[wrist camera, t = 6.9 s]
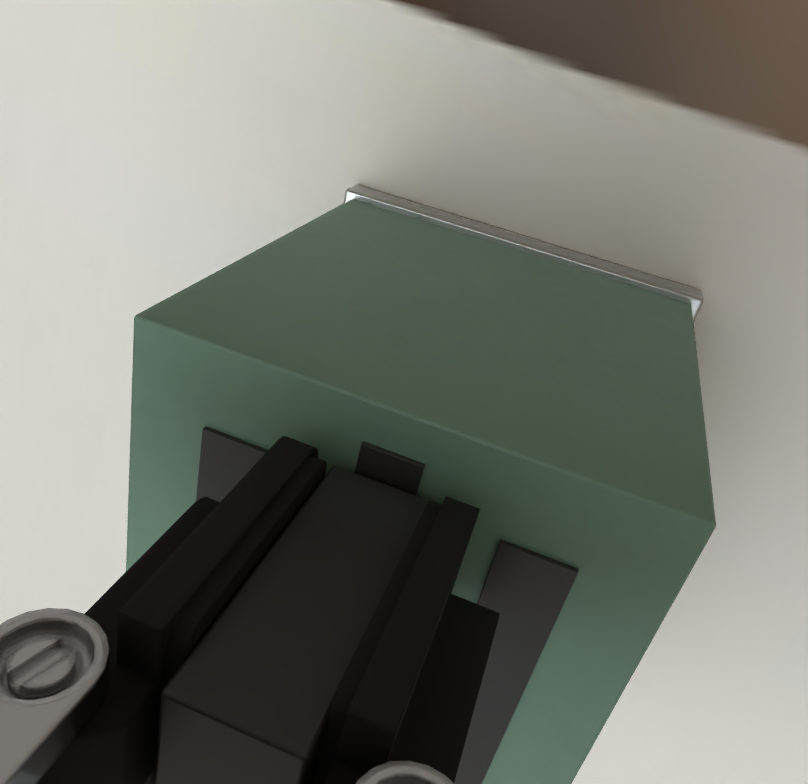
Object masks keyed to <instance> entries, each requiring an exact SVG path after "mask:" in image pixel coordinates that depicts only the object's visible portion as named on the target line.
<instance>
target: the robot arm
mask: <svg viewBox="0 0 808 784" xmlns="http://www.w3.org/2000/svg"><path fill="white" fill-rule="evenodd" d="M326 468H327V462H326V461H324V460H321V459H319V458H318V449H317V448H316V447H314V446H311V445H308V444H306V443H303V442H300V441H298V440H295V439H292V438H290V437H287V436H282V437H281V438H280V439H278V441H277V442H276V443H275V444H274V445H273V446H272V447H271V448H270V449H269V450H268V451H267V452H266V453H265V454H264V456H263V457H262V458H261V459H260V460H259V461H258V462H257V463H256V464H255V465H254V466H253V467H252V468H251V469H250V471H249V472H248V473H247V474H246V475H245V476H244V477H243V478H242V479H241V480H240V481H239V482H238V483H237V484H236V486H235V487H234V488H233V489H232V490H231V491H230V492H229V493H228V494H227V495H226V496H225V497H224V498H223V500H222V501H221V502H219V501H216V500H214V499H211V498H209V497H203V498H200V499H199V500H197V501H196V502H195V503H194V504H193V505H192V506H191V507H190V508H189V509H188V510H187V511H186V512H185V513H184V514H183V515H182V516H181V517H180V518H179V519H178V520H177V521H176V522H175V523H174V524H173V525H172V526H171V527H170V528H169V529H168V530H167V531H166V532H165V533H164V534H163V535H162V536H161V537H160V538H159V539H158V540H157V541H156V542H155V543H154V544H153V545H152V546H151V547H150V548H149V549H148V550H147V551H146V552H145V553H144V554H143V555H142V556H141V557H140V558H139V559H138V560H137V561H136V562H135V563H134V564H133V565H132V566H131V567H130V568H129V569H128V570H127V572H126V573H125V574H124V575H123V576H122V577H121V578H120V579H119V580H118V581H117V582H116V583H115V584H114V585H113V586H112V587H111V588H110V589H109V590H108V591H107V592H106V593H105V594H104V595H103V596H102V597H101V598H100V599H99V600H98V601H97V602H96V603H95V604H94V605H93V606H92V607H91V608H90V609H89V610H88V611H87V612H86V613H85V614H83V613H79V612H76V611H72V610H69V609H53V608H47V609H41V610H36V611H30V612H26V613H24V614H21V615H19V616H16V617H14V618H11V619H9V620H7V621H5V622H4V623H2V624H1V625H0V784H155V771H156V757H157V744H158V730H159V716H160V703H161V693H162V690H163V689H164V688H165V686H166V685H167V684H168V682H169V681H170V680H171V678H172V677H173V676H174V674H175V673H176V672H177V670H178V669H179V668H180V666H181V665H182V664H183V663H184V661H185V660H186V659H187V657H188V656H189V655H190V653H191V652H192V651H193V649H194V648H195V647H196V645H197V644H198V643H199V641H200V640H201V639H202V637H203V636H204V635H205V634H206V632H207V631H208V630H209V628H210V627H211V626H212V624H213V623H214V622H215V620H216V619H217V618H218V616H219V615H220V614H221V612H222V611H223V610H224V609H225V607H226V606H227V605H228V603H229V602H230V601H231V599H232V598H233V597H234V595H235V594H236V593H237V591H238V590H239V589H240V587H241V586H242V585H243V583H244V582H245V581H246V580H247V578H248V577H249V576H250V574H251V573H252V572H253V570H254V569H255V568H256V566H257V565H258V564H259V562H260V561H261V560H262V558H263V557H264V556H265V555H266V553H267V552H268V551H269V549H270V548H271V547H272V545H273V544H274V543H275V541H276V540H277V539H278V537H279V536H280V535H281V533H282V532H283V531H284V529H285V528H286V527H287V526H288V524H289V523H290V522H291V520H292V519H293V518H294V516H295V515H296V514H297V512H298V511H299V510H300V508H301V507H302V506H303V504H304V503H305V502H306V501H307V499H308V498H309V497H310V495H311V494H312V493H313V491H314V490H315V489H316V487H317V486H318V485H319V483H320V482H321V481H322V479H323V478H324V477H325V474H326ZM479 511H480V508H477V507H474V506H472V505H469V504H466V503H464V502H461V501H458V500H456V499H453V498H450V497H448V496H446V497H445V499H444V501H443V504H442V505H441V504H439V503H436V502H433V501H431V500H430V501H429V502H428V504H427V506H426V508H425V510H424V512H423V514H422V516H421V518H420V520H419V522H418V524H417V526H416V528H415V530H414V532H413V534H412V536H411V538H410V540H409V542H408V545H407V547H406V549H405V551H404V553H403V555H402V557H401V559H400V561H399V563H398V565H397V567H396V569H395V571H394V573H393V575H392V577H391V579H390V581H389V583H388V585H387V587H386V589H385V591H384V593H383V595H382V598H381V600H380V602H379V604H378V606H377V608H376V610H375V612H374V614H373V616H372V618H371V620H370V622H369V624H368V626H367V628H366V630H365V632H364V634H363V636H362V638H361V640H360V642H359V644H358V646H357V648H356V651H355V653H354V655H353V657H352V659H351V661H350V663H349V665H348V667H347V669H346V671H345V673H344V675H343V677H342V679H341V681H340V684H339V686H338V688H337V690H336V693H335V695H334V698H333V700H332V703H331V706H330V709H329V712H328V715H327V718H326V722H327V723H326V727H325V731H324V735H323V739H322V743H321V747H320V751H319V754H318V758H317V762H316V766H315V770H314V774H313V778H312V782H311V784H454V781H455V778H456V774H457V770H458V767H459V763H460V759H461V756H462V752H463V748H464V745H465V741H466V737H467V734H468V730H469V726H470V723H471V719H472V715H473V712H474V708H475V704H476V701H477V697H478V693H479V690H480V686H481V682H482V679H483V675H484V671H485V668H486V664H487V660H488V657H489V653H490V649H491V646H492V642H493V638H494V635H495V631H496V627H497V623H498V619H499V614H500V613H498V612H496V611H493V610H491V609H488V608H486V607H483V606H481V605H478V604H476V603H473V602H471V601H468V600H466V599H463V598H461V597H458V596H456V595H453V594H451V593H452V590H453V587H454V584H455V581H456V578H457V576H458V573H459V570H460V567H461V564H462V561H463V558H464V555H465V552H466V549H467V546H468V544H469V541H470V538H471V535H472V532H473V529H474V526H475V523H476V520H477V517H478V514H479Z"/></svg>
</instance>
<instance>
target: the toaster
mask: <svg viewBox="0 0 808 784" xmlns="http://www.w3.org/2000/svg"><path fill="white" fill-rule="evenodd" d="M702 303H703V297H702V291H701V290H698V289H695V288H692V287H689V286H685V285H682V284H679V283H676V282H672V281H669V280H666V279H663V278H659V277H656V276H653V275H650V274H646V273H643V272H640V271H637V270H633V269H630V268H627V267H624V266H620V265H617V264H614V263H611V262H607V261H604V260H601V259H598V258H594V257H591V256H588V255H585V254H581V253H578V252H575V251H572V250H568V249H565V248H562V247H559V246H555V245H552V244H549V243H546V242H542V241H539V240H536V239H533V238H529V237H526V236H523V235H520V234H516V233H513V232H510V231H507V230H503V229H500V228H497V227H494V226H490V225H487V224H484V223H481V222H477V221H474V220H471V219H468V218H464V217H461V216H458V215H455V214H451V213H448V212H445V211H442V210H438V209H435V208H432V207H429V206H425V205H422V204H419V203H416V202H412V201H409V200H406V199H403V198H399V197H396V196H393V195H390V194H386V193H383V192H380V191H377V190H373V189H370V188H367V187H364V186H360V185H355V186H353V187H351V188H349V189H347V190H346V193H345V198H344V204H342V205H340V206H338V207H337V208H335V209H333V210H331V211H329V212H327V213H325V214H324V215H322V216H320V217H318V218H316V219H314V220H312V221H310V222H309V223H307V224H305V225H303V226H301V227H299V228H297V229H296V230H294V231H292V232H290V233H288V234H286V235H284V236H283V237H281V238H279V239H277V240H275V241H273V242H271V243H269V244H268V245H266V246H264V247H262V248H260V249H258V250H256V251H255V252H253V253H251V254H249V255H247V256H245V257H243V258H242V259H240V260H238V261H236V262H234V263H232V264H230V265H228V266H227V267H225V268H223V269H221V270H219V271H217V272H215V273H214V274H212V275H210V276H208V277H206V278H204V279H202V280H201V281H199V282H197V283H195V284H193V285H191V286H189V287H188V288H186V289H184V290H182V291H180V292H178V293H176V294H174V295H173V296H171V297H169V298H167V299H165V300H163V301H161V302H160V303H158V304H156V305H154V306H152V307H150V308H148V309H147V310H145V311H143V312H141V313H139V314H137V315H136V316H135V318H134V343H133V374H132V405H131V436H130V468H129V499H128V530H127V562H126V572H127V570H128V569H129V568H130V567H131V566H132V565H133V564H134V563H135V562H136V561H137V560H138V559H139V558H140V557H141V556H142V555H143V554H144V553H145V552H146V551H147V550H148V549H149V548H150V547H151V546H152V545H153V544H154V543H155V542H156V541H157V540H158V539H159V538H160V537H161V536H162V535H163V534H164V533H165V532H166V531H167V530H168V529H169V528H170V527H171V526H172V525H173V524H174V523H175V522H176V521H177V520H178V519H179V518H180V517H181V516H182V515H183V514H184V513H185V512H186V511H187V510H188V509H189V508H190V507H191V506H192V505H193V504H194V503H195V502H196V501H197V500H199V499H200V498H203V497H209V498H211V499H214V500H216V501H219V502H221V501H222V500H223V498H224V497H225V496H226V495H227V494H228V493H229V492H230V491H231V490H232V489H233V488H234V487H235V486H236V484H237V483H238V482H239V481H240V480H241V479H242V478H243V477H244V476H245V475H246V474H247V473H248V472H249V471H250V469H251V468H252V467H253V466H254V465H255V464H256V463H257V462H258V461H259V460H260V459H261V458H262V457H263V456H264V454H265V453H266V452H267V451H268V450H269V449H270V448H271V447H272V446H273V445H274V444H275V443H276V442H277V441H278V439H280V438H281V437H282V436H287V437H290V438H292V439H295V440H298V441H300V442H303V443H306V444H308V445H311V446H314V447H316V448H317V449H318V458H319V459H321V460H324V461H326V462H327V468H326V474H327V473H328V472H329V470H330V469H331V468H332V466H338V467H341V468H343V469H346V470H349V471H351V472H354V473H357V474H359V475H362V476H364V477H367V478H370V479H372V480H375V481H378V482H380V483H383V484H386V485H388V486H391V487H393V488H396V489H399V490H401V491H404V492H407V493H409V494H412V495H414V496H417V497H420V498H422V499H425V500H428V501H430V500H431V501H433V502H436V503H439V504H441V505H442V504H443V501H444V499H445V497H446V496H448V497H450V498H453V499H456V500H458V501H461V502H464V503H466V504H469V505H472V506H474V507H477V508H480V511H479V514H478V517H477V520H476V523H475V526H474V529H473V532H472V535H471V538H470V541H469V544H468V546H467V549H466V552H465V555H464V558H463V561H462V564H461V567H460V570H459V573H458V576H457V578H456V581H455V584H454V587H453V590H452V593H451V594H453V595H456V596H458V597H461V598H463V599H466V600H468V601H471V602H473V603H476V604H478V605H481V606H483V607H486V608H488V609H491V610H493V611H496V612H498V613H500V614H499V619H498V623H497V627H496V631H495V635H494V638H493V642H492V646H491V649H490V653H489V657H488V660H487V664H486V668H485V671H484V675H483V679H482V682H481V686H480V690H479V693H478V697H477V701H476V704H475V708H474V712H473V715H472V719H471V723H470V726H469V730H468V734H467V737H466V741H465V745H464V748H463V752H462V756H461V759H460V763H459V767H458V770H457V774H456V778H455V781H454V784H571V783H572V781H573V780H574V778H575V776H576V774H577V772H578V771H579V769H580V767H581V765H582V764H583V762H584V760H585V758H586V756H587V755H588V753H589V751H590V749H591V748H592V746H593V744H594V742H595V740H596V739H597V737H598V735H599V733H600V732H601V730H602V728H603V726H604V724H605V723H606V721H607V719H608V717H609V716H610V714H611V712H612V710H613V708H614V707H615V705H616V703H617V701H618V700H619V698H620V696H621V694H622V692H623V691H624V689H625V687H626V685H627V684H628V682H629V680H630V678H631V676H632V675H633V673H634V671H635V669H636V668H637V666H638V664H639V662H640V660H641V659H642V657H643V655H644V653H645V652H646V650H647V648H648V646H649V644H650V643H651V641H652V639H653V637H654V636H655V634H656V632H657V630H658V628H659V627H660V625H661V623H662V621H663V619H664V618H665V616H666V614H667V612H668V611H669V609H670V607H671V605H672V603H673V602H674V600H675V598H676V596H677V595H678V593H679V591H680V589H681V587H682V586H683V584H684V582H685V580H686V579H687V577H688V575H689V573H690V571H691V570H692V568H693V566H694V564H695V563H696V561H697V559H698V557H699V555H700V554H701V552H702V550H703V548H704V547H705V545H706V543H707V541H708V539H709V538H710V536H711V534H712V532H713V531H714V529H715V527H716V522H715V513H714V504H713V495H712V486H711V477H710V468H709V459H708V450H707V441H706V432H705V423H704V414H703V405H702V396H701V387H700V378H699V369H698V360H697V351H696V341H695V332H694V323H693V322H694V320H695V318H696V316H697V314H698V311H699V309H700V307H701V305H702ZM326 474H325V475H326Z"/></svg>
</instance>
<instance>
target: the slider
mask: <svg viewBox="0 0 808 784" xmlns="http://www.w3.org/2000/svg"><path fill="white" fill-rule="evenodd" d="M428 502H429V501H428V500H425V499H422V498H420V497H417V496H414V495H412V494H409V493H407V492H404V491H401V490H399V489H396V488H393V487H391V486H388V485H386V484H383V483H380V482H378V481H375V480H372V479H370V478H367V477H364V476H362V475H359V474H357V473H354V472H351V471H349V470H346V469H343V468H341V467H338V466H332V468H331V469H330V470H329V472H328V473H327V474H326V475H325V477H324V478H323V479H322V481H321V482H320V483H319V485H318V486H317V487H316V489H315V490H314V491H313V493H312V494H311V495H310V497H309V498H308V499H307V501H306V502H305V503H304V504H303V506H302V507H301V508H300V510H299V511H298V512H297V514H296V515H295V516H294V518H293V519H292V520H291V522H290V523H289V524H288V526H287V527H286V528H285V529H284V531H283V532H282V533H281V535H280V536H279V537H278V539H277V540H276V541H275V543H274V544H273V545H272V547H271V548H270V549H269V551H268V552H267V553H266V555H265V556H264V557H263V558H262V560H261V561H260V562H259V564H258V565H257V566H256V568H255V569H254V570H253V572H252V573H251V574H250V576H249V577H248V578H247V580H246V581H245V582H244V583H243V585H242V586H241V587H240V589H239V590H238V591H237V593H236V594H235V595H234V597H233V598H232V599H231V601H230V602H229V603H228V605H227V606H226V607H225V609H224V610H223V611H222V612H221V614H220V615H219V616H218V618H217V619H216V620H215V622H214V623H213V624H212V626H211V627H210V628H209V630H208V631H207V632H206V634H205V635H204V636H203V637H202V639H201V640H200V641H199V643H198V644H197V645H196V647H195V648H194V649H193V651H192V652H191V653H190V655H189V656H188V657H187V659H186V660H185V661H184V663H183V664H182V665H181V666H180V668H179V669H178V670H177V672H176V673H175V674H174V676H173V677H172V678H171V680H170V681H169V682H168V684H167V685H166V686H165V688H164V689H163V690H162V693H161V703H160V716H159V730H158V744H157V757H156V771H155V784H311V782H312V778H313V774H314V770H315V766H316V762H317V758H318V754H319V751H320V747H321V743H322V739H323V735H324V731H325V727H326V723H327V722H326V718H327V715H328V712H329V709H330V706H331V703H332V700H333V698H334V695H335V693H336V690H337V688H338V686H339V684H340V681H341V679H342V677H343V675H344V673H345V671H346V669H347V667H348V665H349V663H350V661H351V659H352V657H353V655H354V653H355V651H356V648H357V646H358V644H359V642H360V640H361V638H362V636H363V634H364V632H365V630H366V628H367V626H368V624H369V622H370V620H371V618H372V616H373V614H374V612H375V610H376V608H377V606H378V604H379V602H380V600H381V598H382V595H383V593H384V591H385V589H386V587H387V585H388V583H389V581H390V579H391V577H392V575H393V573H394V571H395V569H396V567H397V565H398V563H399V561H400V559H401V557H402V555H403V553H404V551H405V549H406V547H407V545H408V542H409V540H410V538H411V536H412V534H413V532H414V530H415V528H416V526H417V524H418V522H419V520H420V518H421V516H422V514H423V512H424V510H425V508H426V506H427V504H428Z"/></svg>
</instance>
